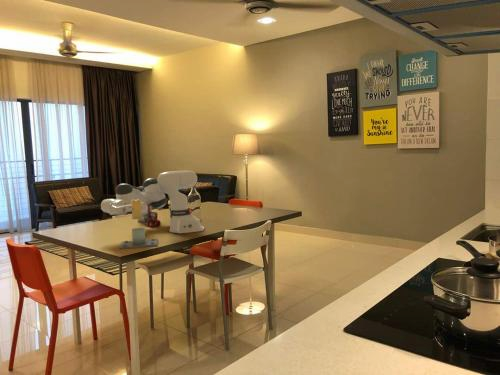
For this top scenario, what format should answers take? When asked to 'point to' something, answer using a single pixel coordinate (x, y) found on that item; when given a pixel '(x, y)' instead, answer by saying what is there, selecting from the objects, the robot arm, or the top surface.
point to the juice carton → (144, 211)
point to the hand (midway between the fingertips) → (137, 208)
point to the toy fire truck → (153, 219)
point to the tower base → (130, 244)
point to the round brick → (136, 209)
